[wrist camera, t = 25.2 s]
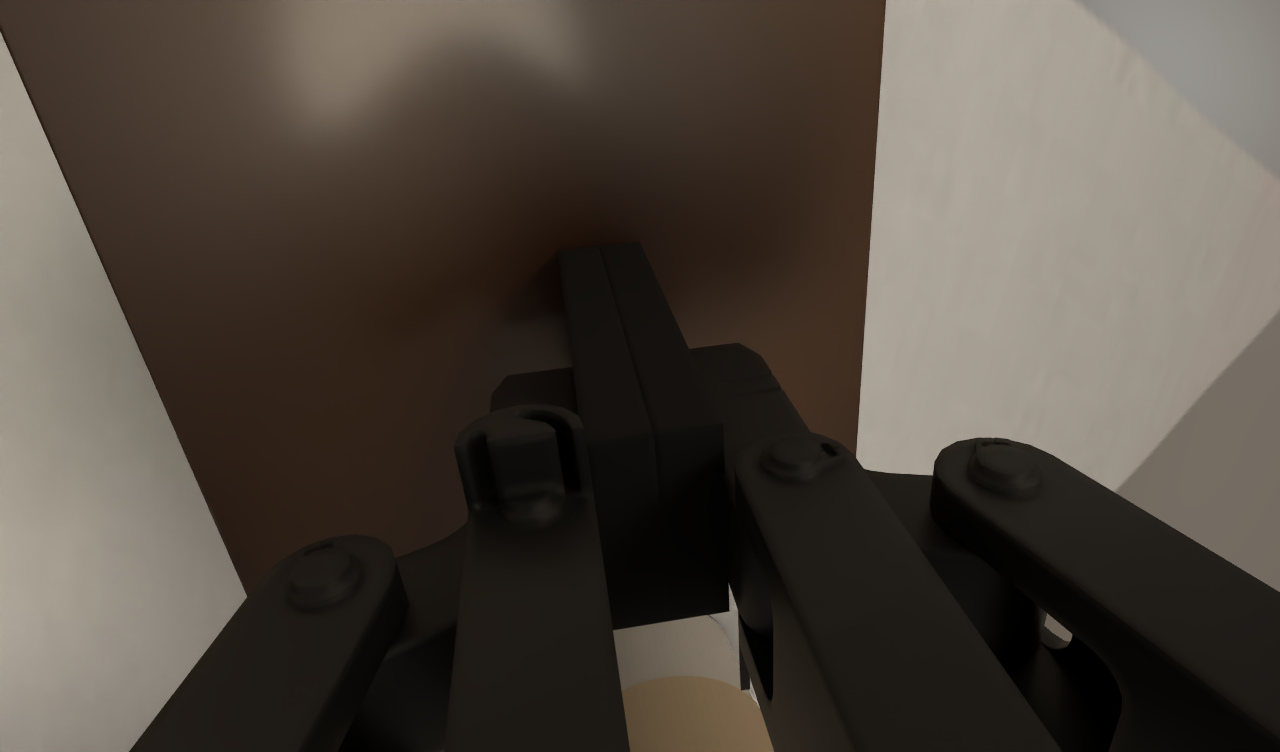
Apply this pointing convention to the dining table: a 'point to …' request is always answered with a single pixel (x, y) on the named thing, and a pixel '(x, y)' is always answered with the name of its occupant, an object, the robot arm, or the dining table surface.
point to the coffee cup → (686, 690)
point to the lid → (445, 216)
